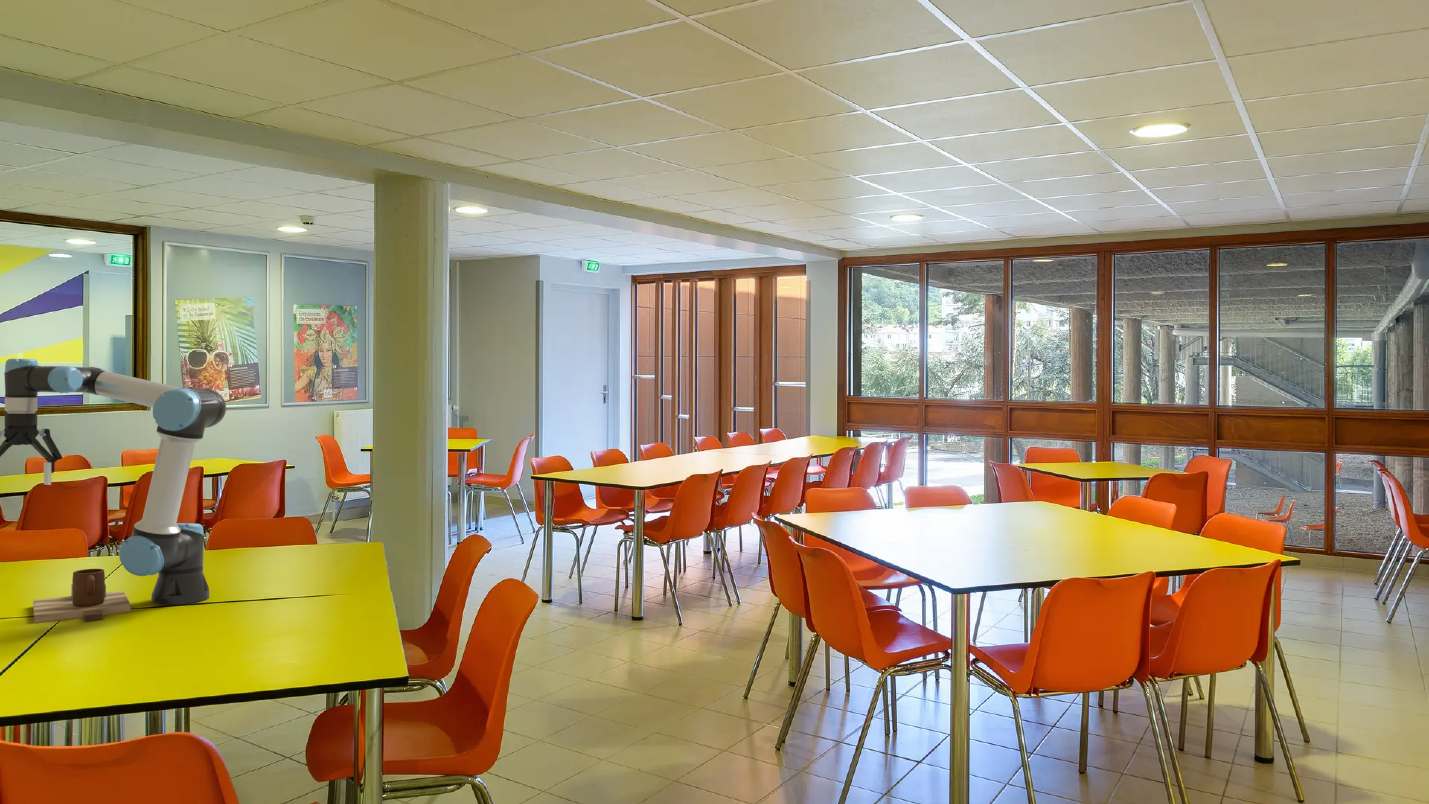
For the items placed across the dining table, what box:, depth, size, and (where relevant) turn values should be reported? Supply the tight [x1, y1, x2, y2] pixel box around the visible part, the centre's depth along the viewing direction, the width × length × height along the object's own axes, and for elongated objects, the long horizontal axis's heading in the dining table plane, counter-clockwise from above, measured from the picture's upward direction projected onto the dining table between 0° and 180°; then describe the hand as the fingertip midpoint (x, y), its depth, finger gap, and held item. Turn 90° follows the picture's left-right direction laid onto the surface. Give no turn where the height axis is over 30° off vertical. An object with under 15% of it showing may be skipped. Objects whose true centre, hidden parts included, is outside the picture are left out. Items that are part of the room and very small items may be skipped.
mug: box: [71, 568, 106, 607], centre depth 259 cm, size 12×8×9 cm, turn 39°
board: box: [32, 590, 132, 624], centre depth 260 cm, size 28×22×2 cm
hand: (20, 486), depth 264 cm, fingers open, 13 cm apart
